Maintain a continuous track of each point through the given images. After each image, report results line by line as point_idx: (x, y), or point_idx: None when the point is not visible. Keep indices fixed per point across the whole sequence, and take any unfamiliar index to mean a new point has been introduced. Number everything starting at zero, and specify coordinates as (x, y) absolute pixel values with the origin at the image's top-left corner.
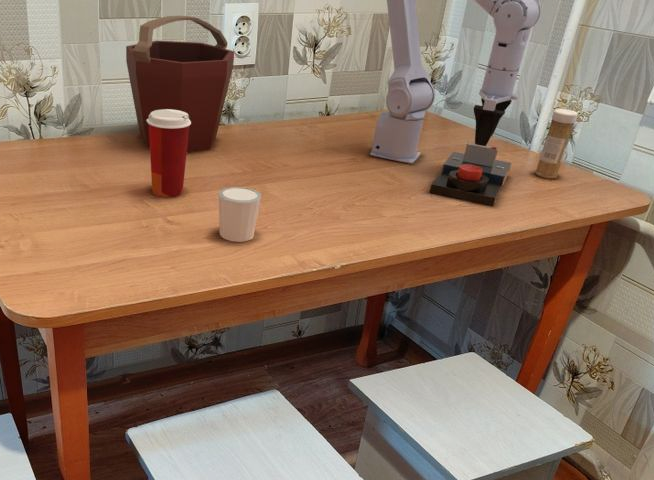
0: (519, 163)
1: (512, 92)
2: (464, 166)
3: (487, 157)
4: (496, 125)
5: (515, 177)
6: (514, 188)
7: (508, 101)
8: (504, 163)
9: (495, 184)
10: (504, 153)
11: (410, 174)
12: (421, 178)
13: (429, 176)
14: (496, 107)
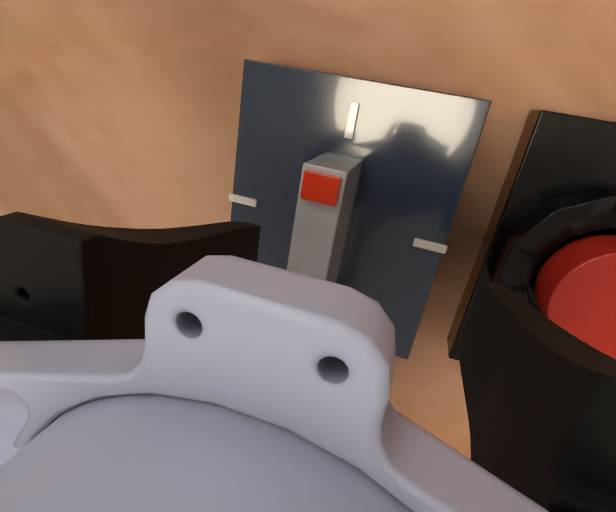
0: (74, 8)
1: (249, 467)
2: (599, 340)
3: (349, 201)
4: (227, 235)
5: (258, 26)
6: (416, 31)
7: (83, 269)
8: (271, 95)
9: (537, 141)
10: (2, 72)
11: (404, 412)
12: (433, 386)
13: (399, 358)
14: (144, 322)
